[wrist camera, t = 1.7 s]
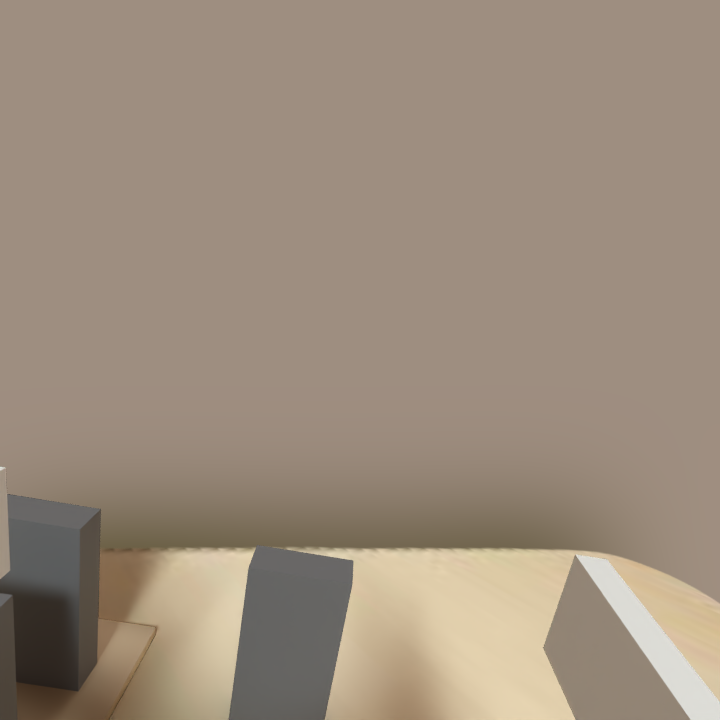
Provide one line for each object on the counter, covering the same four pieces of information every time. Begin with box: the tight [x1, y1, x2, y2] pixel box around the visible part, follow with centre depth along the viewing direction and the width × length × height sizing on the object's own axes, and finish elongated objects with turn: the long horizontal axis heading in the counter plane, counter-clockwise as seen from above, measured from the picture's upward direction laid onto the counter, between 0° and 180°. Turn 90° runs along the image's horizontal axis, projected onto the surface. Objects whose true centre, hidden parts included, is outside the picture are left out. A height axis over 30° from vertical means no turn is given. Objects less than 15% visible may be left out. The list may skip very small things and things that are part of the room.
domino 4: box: [0, 494, 101, 691], centre depth 22 cm, size 2×5×10 cm, turn 89°
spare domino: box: [229, 545, 353, 720], centre depth 22 cm, size 2×5×10 cm, turn 89°
